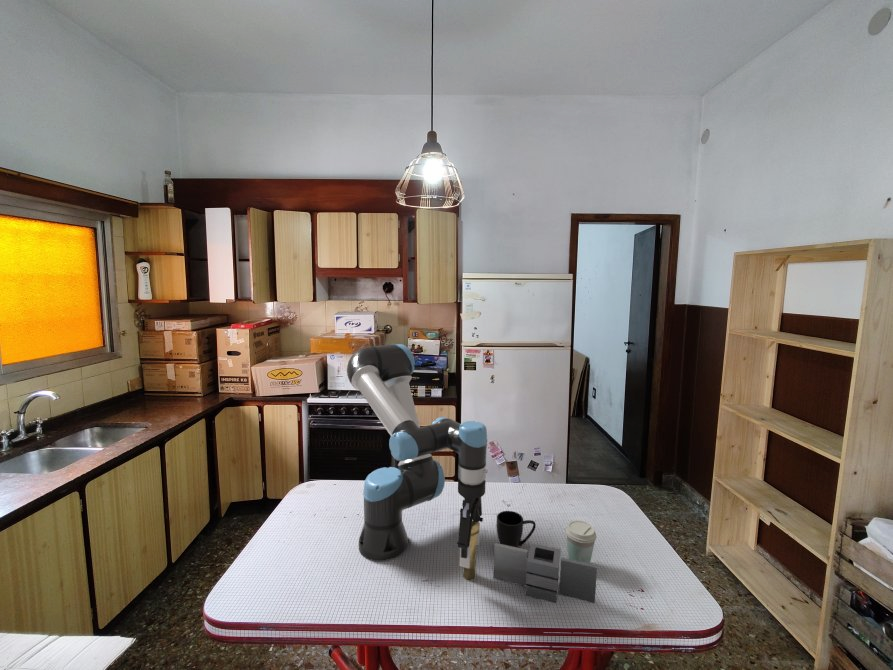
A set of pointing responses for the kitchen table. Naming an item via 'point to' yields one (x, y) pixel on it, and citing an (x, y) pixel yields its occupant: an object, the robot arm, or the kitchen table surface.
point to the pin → (472, 554)
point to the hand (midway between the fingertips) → (469, 554)
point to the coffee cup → (580, 540)
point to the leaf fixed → (561, 575)
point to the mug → (512, 528)
